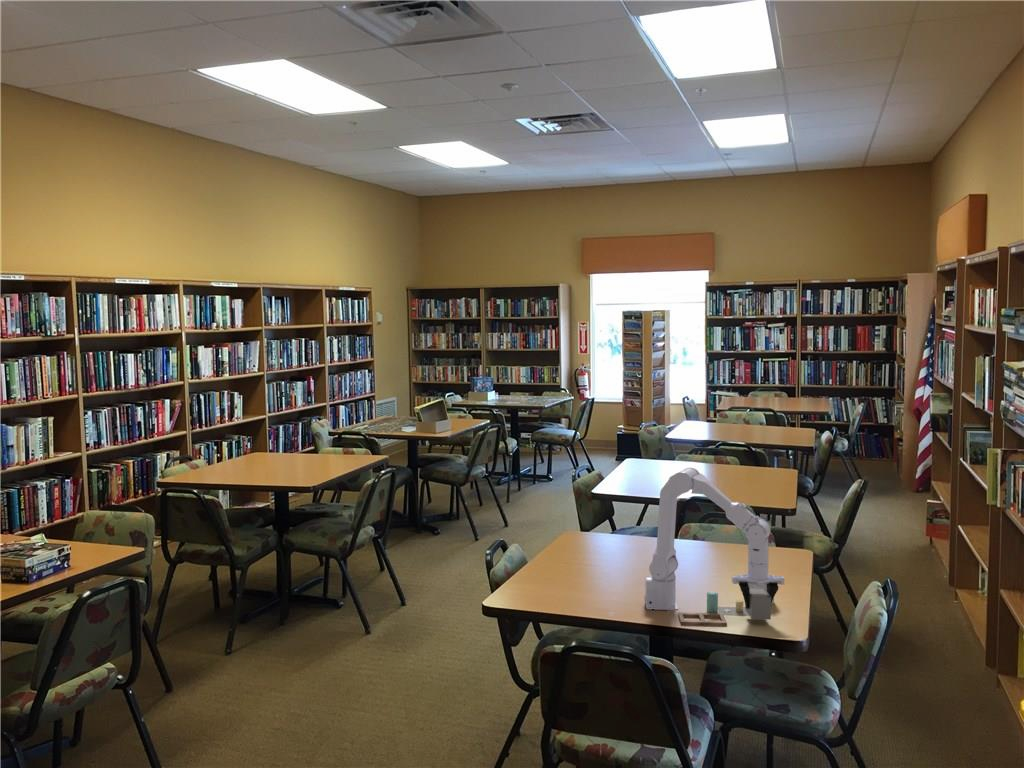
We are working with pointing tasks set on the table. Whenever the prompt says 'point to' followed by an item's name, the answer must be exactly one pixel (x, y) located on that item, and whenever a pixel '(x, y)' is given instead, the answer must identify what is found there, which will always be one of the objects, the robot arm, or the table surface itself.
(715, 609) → the teal peg
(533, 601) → the table surface
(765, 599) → the housing
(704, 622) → the walnut board
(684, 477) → the robot arm
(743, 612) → the tile
